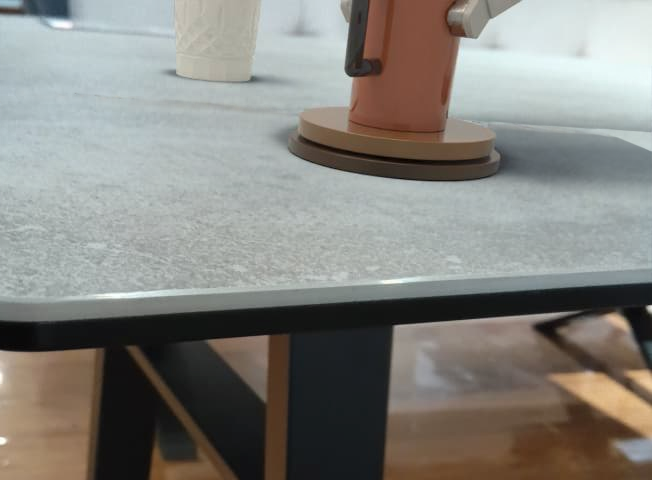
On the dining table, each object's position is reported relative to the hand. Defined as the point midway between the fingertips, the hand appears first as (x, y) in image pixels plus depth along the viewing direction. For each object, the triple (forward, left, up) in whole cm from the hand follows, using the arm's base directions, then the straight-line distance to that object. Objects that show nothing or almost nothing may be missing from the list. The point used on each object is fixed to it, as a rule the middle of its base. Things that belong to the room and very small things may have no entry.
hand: (404, 22), depth 51 cm
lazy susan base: (0, -1, -8) cm, 8 cm away
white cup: (+10, -31, -8) cm, 33 cm away
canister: (0, -1, -8) cm, 8 cm away
